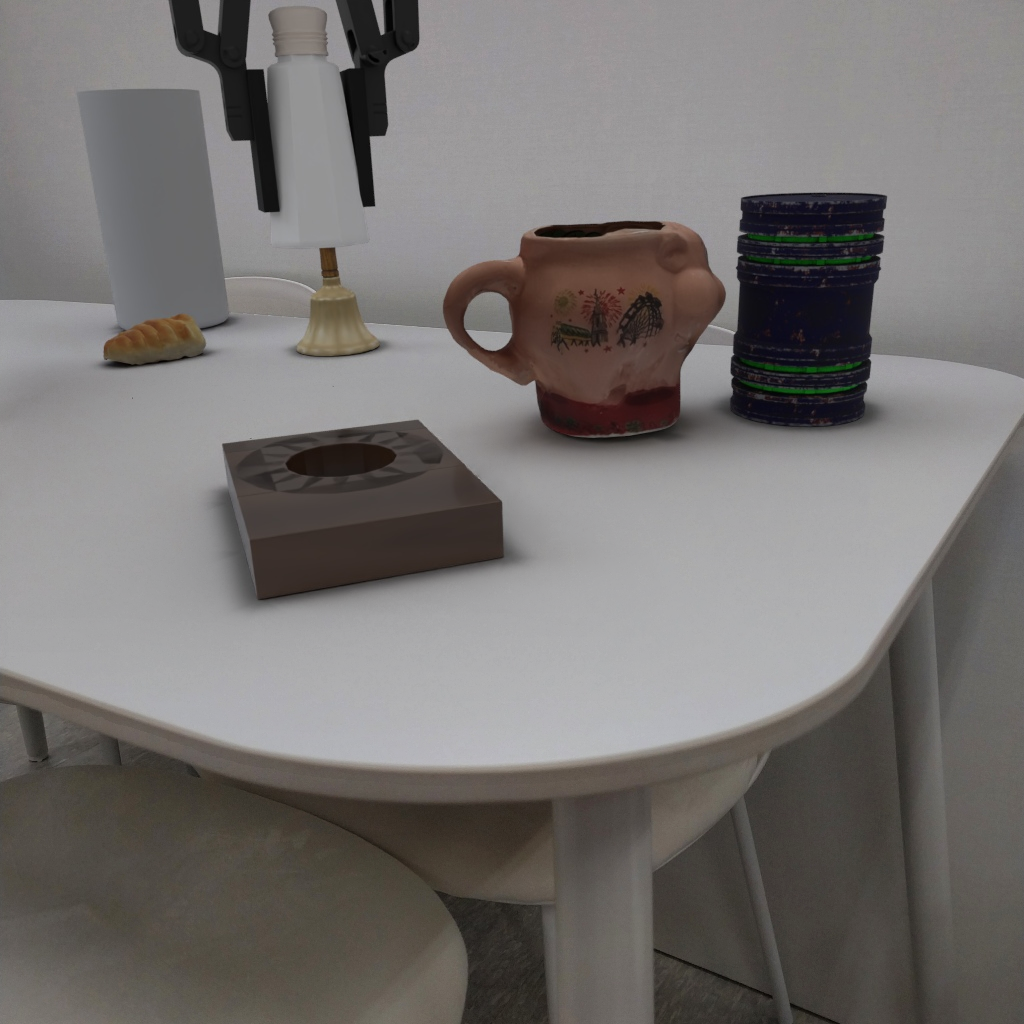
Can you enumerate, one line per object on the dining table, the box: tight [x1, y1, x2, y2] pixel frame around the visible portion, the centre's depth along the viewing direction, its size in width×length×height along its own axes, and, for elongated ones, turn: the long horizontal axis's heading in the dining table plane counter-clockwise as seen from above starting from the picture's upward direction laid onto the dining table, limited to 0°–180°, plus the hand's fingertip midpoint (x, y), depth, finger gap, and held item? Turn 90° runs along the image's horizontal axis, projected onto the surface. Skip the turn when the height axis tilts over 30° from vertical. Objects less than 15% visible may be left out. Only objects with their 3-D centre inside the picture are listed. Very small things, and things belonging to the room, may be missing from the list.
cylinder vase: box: [76, 88, 230, 331], centre depth 109 cm, size 12×12×25 cm
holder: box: [221, 419, 505, 600], centre depth 53 cm, size 16×12×3 cm
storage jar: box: [729, 192, 888, 427], centre depth 69 cm, size 10×10×15 cm
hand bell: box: [295, 247, 380, 357], centre depth 95 cm, size 8×8×16 cm
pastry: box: [103, 314, 207, 366], centre depth 95 cm, size 9×7×4 cm
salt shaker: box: [266, 5, 370, 250], centre depth 49 cm, size 5×5×11 cm
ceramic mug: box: [442, 220, 727, 439], centre depth 66 cm, size 20×12×14 cm, turn 113°
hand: (316, 207), depth 50 cm, fingers closed on salt shaker, 4 cm apart
